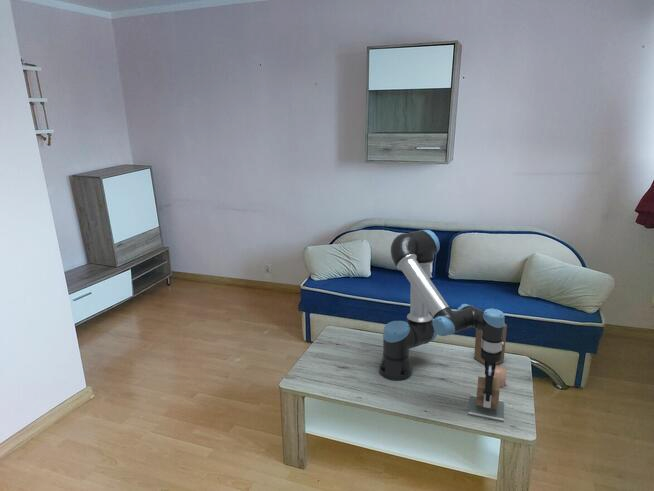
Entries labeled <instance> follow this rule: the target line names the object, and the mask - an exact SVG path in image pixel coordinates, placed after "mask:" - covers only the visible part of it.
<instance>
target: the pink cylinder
mask: <svg viewBox="0 0 654 491" xmlns="http://www.w3.org/2000/svg"><path fill="white" fill-rule="evenodd" d="M493 377H494V379H497V380H500V389H502V388H505V386H506V380H507V369H506V368H505V367H504V366H501V365H496V368H495V372H494V376H493Z"/></svg>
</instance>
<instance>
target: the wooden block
mask: <svg viewBox="0 0 654 491" xmlns="http://www.w3.org/2000/svg"><path fill="white" fill-rule="evenodd" d="M507 330H508V325H507V324H506V323H505V325H504V331H503V342H504V345H502V350H501V351H502V355H501V360H500V361H499V362H496V366H498V365H499V364H502V363H504V361H505V353H506V352H505V351H506V350H505V349H506V343H507V342H506V341H507V340H506V338H507ZM481 340H482V331H480V330H478V329H476V328H475V340H474V341H475V342H474V357H473V359H474V360H476V361H478V362H480V363H481V364H483V365H485V360H483V359H482V358H481V348H482V347H481Z"/></svg>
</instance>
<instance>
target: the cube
mask: <svg viewBox="0 0 654 491" xmlns="http://www.w3.org/2000/svg"><path fill="white" fill-rule="evenodd" d="M485 382H486V378H485V377H484V376H477V389H476V395H477V399H476V405H478V406H483V402H484V393H483V391H485ZM500 389H501V388H500V380H497V379H493V383H492V397H491V408H494V409H498V402H499V400H500Z"/></svg>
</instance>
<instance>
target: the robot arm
mask: <svg viewBox="0 0 654 491" xmlns="http://www.w3.org/2000/svg"><path fill="white" fill-rule="evenodd" d="M439 251H440V241H439V237H438V236H437V235H436V233H435V232H433V231H432V230H429V229H423V230H421V229H420V230H415V231H411V232H405V233H404V232H403V233H401V234H399V235H397V236H396V237H395V238H393V240H392V243H391V245H390V256H391V259H392V262H393V264H394V266H395V267H396V268H397V269H398V270H401V271H402V273H403V274H404V276H405V277H406V279H407V280H408V282H409V283H410V294H409V295H410V298H409V300H410V303H409V304H410V305H409V306H410V307H409V308H410V309H409V311H410V312H409V313H408V314H407V315H406V321H404V320H391V321H390V322H388V323H386V324H385V326H384V328H383V333H382V338H383V339H382V340H383V341H382V342H383V348H382V349H383V350H382V351H383V352H382V358H381V360H380V362H379V367H378V371H379V374H380V375H381V376H382V377H384V378H385V379H388V380H391V381H404V380H407V379H408V378H410V377H412V374H413V366H412V364H411V360H410V356H409V355H410V349H413V348H416V347H419V346H422V345H426V344H429V343H430V342H432V341H434V340H435V339H436V337H437V335H438V336H440V337H447V336H451V335H453V334H456V333H458V332H461V331H462V332H463V331H465V330H467V329H470V328H473V329H475V330H476V329H478V330H480V331H482V340H481V347H482V348H481V358H482V359H483V360H485V364H484V375H485V378H486V382H485V391H483V393H484V402H483V407H486V408H491V397H492V383H493V379H494V377H493V376H494V372H495V368H496V366H497V365H496V362H499V361H500V360H501V355H502V351H501V350H502V345H504V342H503V331H504V325H505V324H506V323H505V317H506V316H505V313H504V312H503V311H502V310H499V309H497V308H496V309H495V308H487V309H485V310H482V309H480V308H478V307H476V306H474V305H471V304H468V303H462V304H461V305H460V306H458V307H457V309H456V311H453V310H452V308H451V307H450V306H449V305H448V303H447V302H446V300H445V299H444V297H443V296H442V294H441V293H440V291H439V290H438V288H437V287H436V285H435V284H434V283H433V281H432V280H431V265H432V263H433V262H434V259H435V258H434V257H435V256H436V254H438V252H439Z"/></svg>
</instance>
